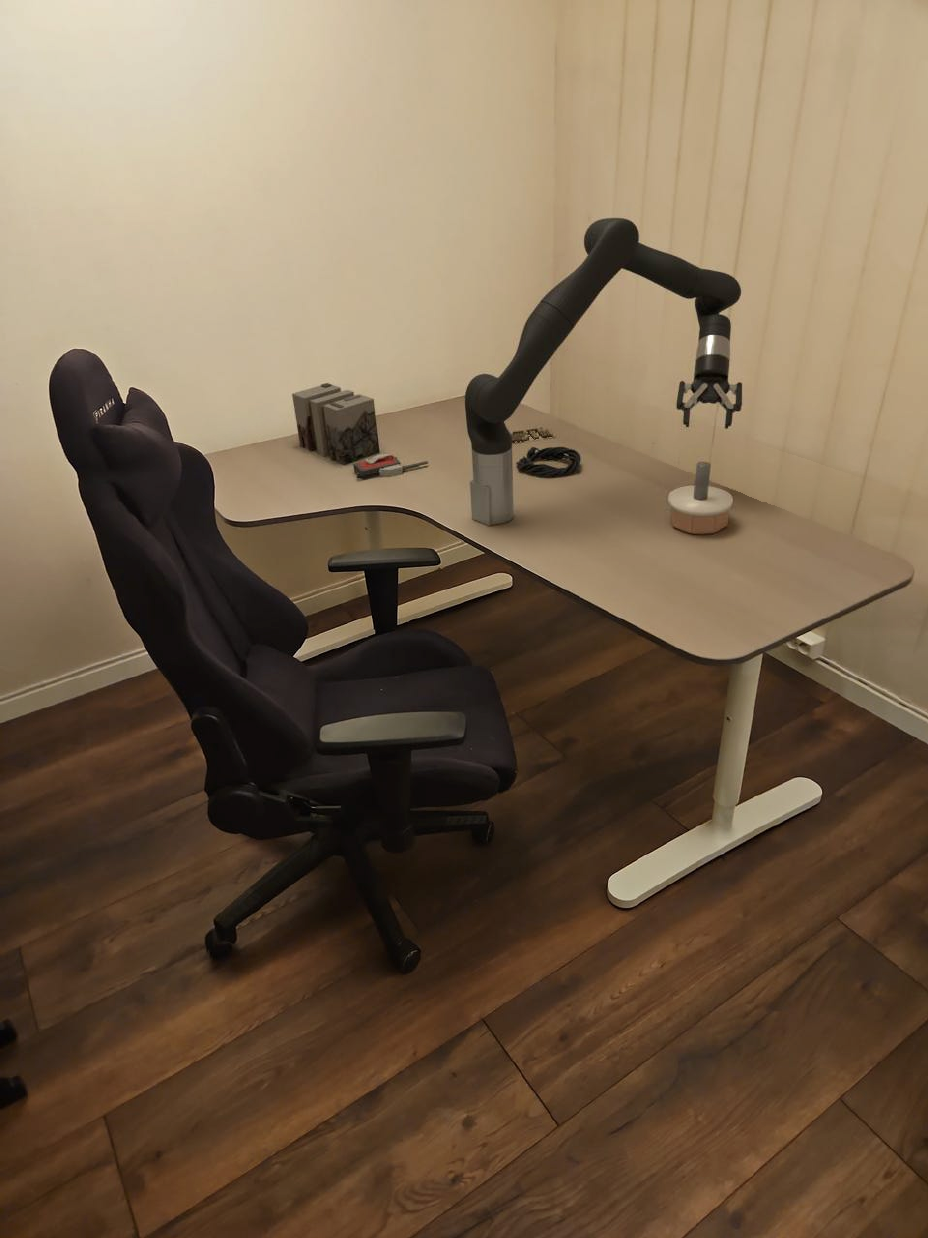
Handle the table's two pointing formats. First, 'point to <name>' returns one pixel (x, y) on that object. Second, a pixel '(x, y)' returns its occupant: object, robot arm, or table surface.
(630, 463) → the table surface
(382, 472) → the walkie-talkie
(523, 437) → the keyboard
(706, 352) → the robot arm
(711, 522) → the bowl
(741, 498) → the table surface
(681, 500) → the lid
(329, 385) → the bookend
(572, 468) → the cable
